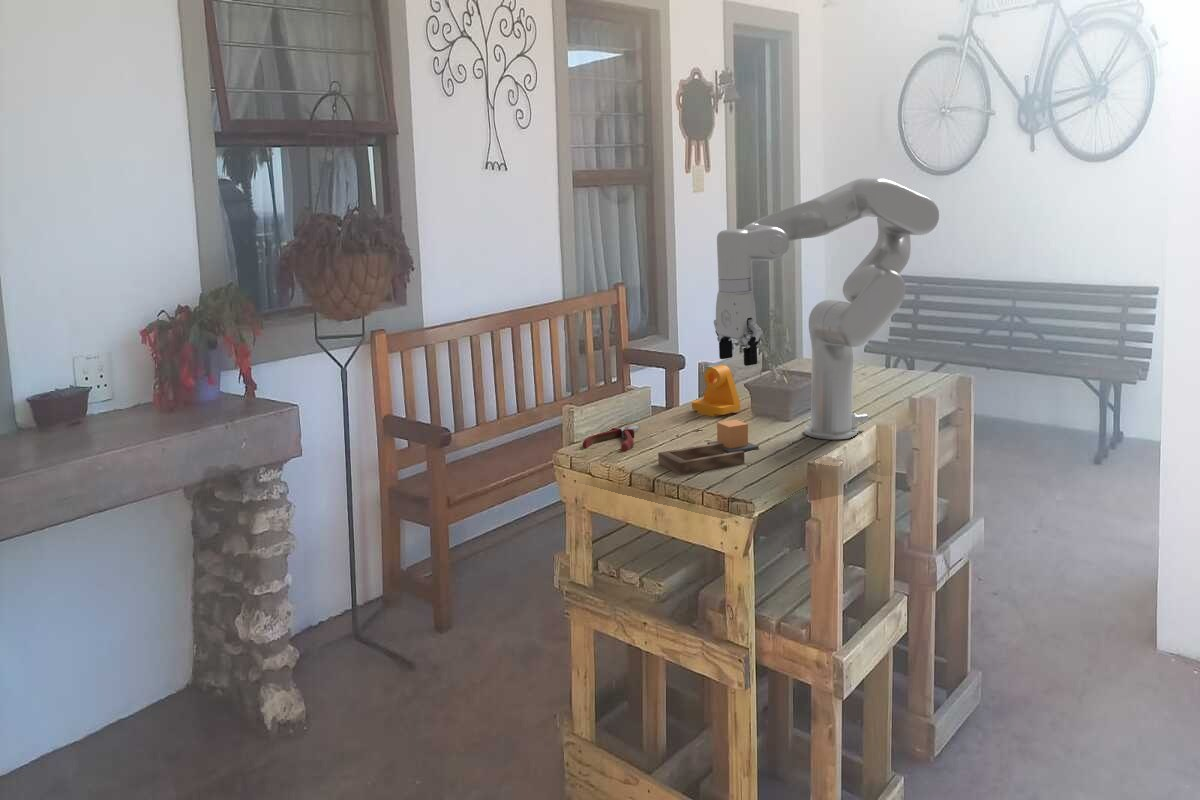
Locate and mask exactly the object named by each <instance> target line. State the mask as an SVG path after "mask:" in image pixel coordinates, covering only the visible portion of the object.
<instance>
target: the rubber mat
mask: <svg viewBox="0 0 1200 800" xmlns="http://www.w3.org/2000/svg"><path fill="white" fill-rule="evenodd" d="M713 443H717V440H713V441H709V442H708V441H707V443H706V445H707V444H713ZM754 450H759V446H758V445H756V444H753V443H751V442H750V441H748V445H747V446H741V447H735V448H730V449H729V448H727V447H724V454H725V453H731V452H737V451H743V452H744V453H745V452H748V451H754Z"/></svg>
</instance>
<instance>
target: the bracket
mask: <svg viewBox="0 0 1200 800" xmlns="http://www.w3.org/2000/svg"><path fill="white" fill-rule="evenodd" d="M704 382H705V384H706V387H705V390H704V391H705V392H704V395H703V398H700V399H696V400H692V401H691V409H692V410H695V411H697V414H700V415H705V416H709V417H717V416H723V415H727V414H731V413H735V412H739V411H741V401H740V398H739V397H740V396H739V395H738V391H737V388H736V383H735V380H734V376H733V373H732V370H731V369H730V368H729V366H727V365H725V364H721V365H717V366H712V367H709V368H707V369H706V370H705V372H704Z"/></svg>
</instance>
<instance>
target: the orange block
mask: <svg viewBox="0 0 1200 800" xmlns="http://www.w3.org/2000/svg"><path fill="white" fill-rule="evenodd" d="M716 435H717V437H716V441H717V443H719V442H721V443H724V447H727V448H729V449H730V448H735V447H741V446H747V445H748V442H749V424H748V423H746V422H743V421H741V420H738V419H731V420H724V421H717V422H716Z"/></svg>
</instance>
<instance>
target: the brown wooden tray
mask: <svg viewBox="0 0 1200 800" xmlns="http://www.w3.org/2000/svg"><path fill="white" fill-rule="evenodd" d="M657 455H658V465H660V466H662V467H664V468H667V469H668V470H669V471H672V472H675V474H677V475H678V474H679V475H685V474H690V473H691V474H692V473H697V472H703V471H709V470H713V469H719V468H726V467H730V466H731V467H732V466H735V465H736V466H737V465H741V464H745V451H744V452H743V451H737V452H731V453H725V452H724V443H721V442H719V443H713V444H707V443H706V444H701V445H695V446H690V447H684V448H678V449H674V450H667V451H666V450H665V451H660V452H658V453H657Z"/></svg>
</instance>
